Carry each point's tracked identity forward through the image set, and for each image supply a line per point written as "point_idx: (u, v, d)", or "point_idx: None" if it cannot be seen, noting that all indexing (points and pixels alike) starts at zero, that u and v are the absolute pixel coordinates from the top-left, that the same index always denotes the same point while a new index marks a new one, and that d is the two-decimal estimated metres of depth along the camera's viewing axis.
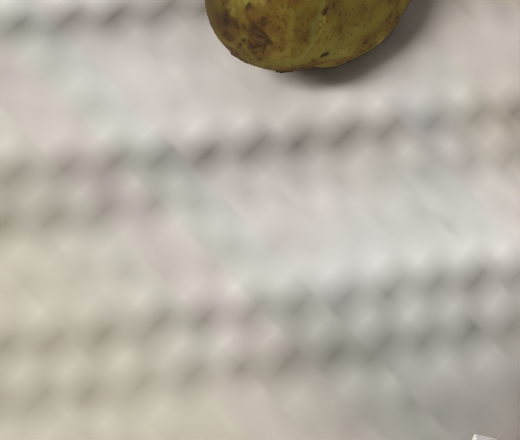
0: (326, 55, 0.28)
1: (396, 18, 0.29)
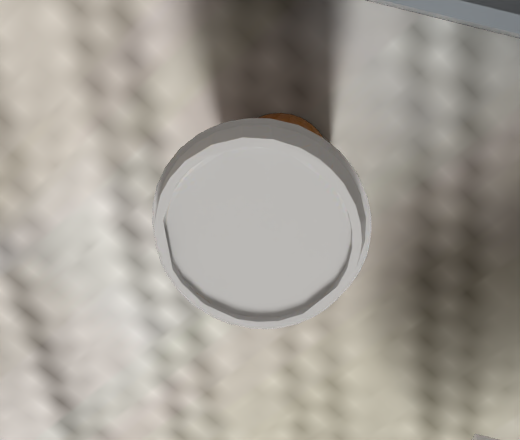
0: None
1: None
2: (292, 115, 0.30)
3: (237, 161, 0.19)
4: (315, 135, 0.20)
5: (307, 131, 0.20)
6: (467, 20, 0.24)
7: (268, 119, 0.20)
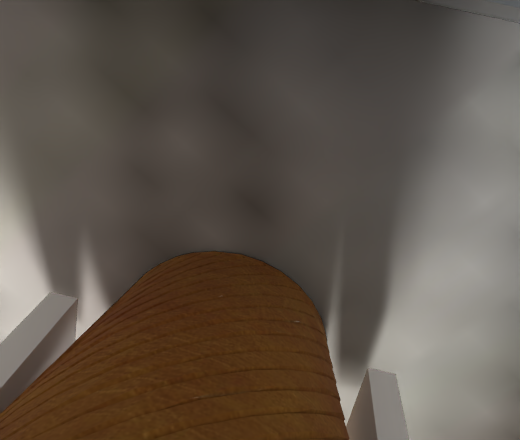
0: None
1: None
2: (240, 258, 0.13)
3: None
4: None
5: None
6: None
7: None
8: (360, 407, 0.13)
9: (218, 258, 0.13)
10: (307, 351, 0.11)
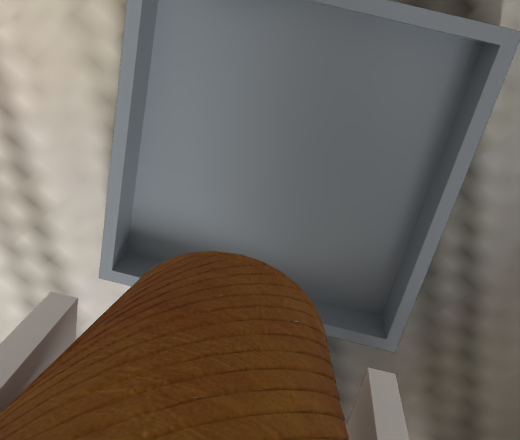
0: None
1: None
2: (240, 258, 0.13)
3: None
4: None
5: None
6: None
7: None
8: (360, 407, 0.13)
9: (218, 258, 0.13)
10: (307, 351, 0.11)
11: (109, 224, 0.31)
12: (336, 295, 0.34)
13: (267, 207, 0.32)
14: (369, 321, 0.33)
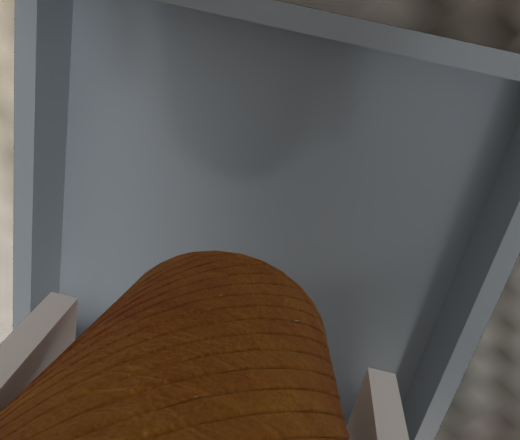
0: None
1: None
2: (240, 258, 0.13)
3: None
4: None
5: None
6: None
7: None
8: (360, 407, 0.13)
9: (218, 257, 0.13)
10: (307, 350, 0.11)
11: None
12: None
13: None
14: None
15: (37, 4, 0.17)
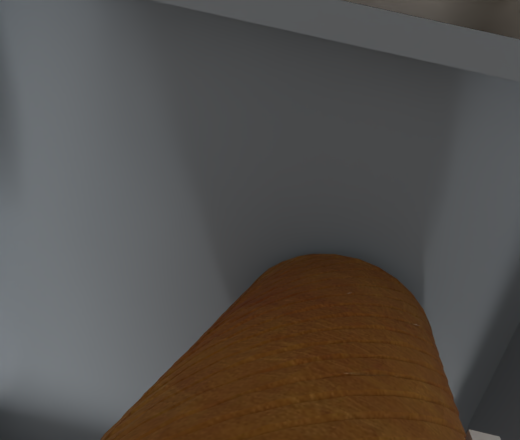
0: None
1: None
2: (359, 262, 0.14)
3: None
4: None
5: None
6: None
7: None
8: None
9: (339, 260, 0.14)
10: (428, 352, 0.12)
11: None
12: None
13: None
14: None
15: None
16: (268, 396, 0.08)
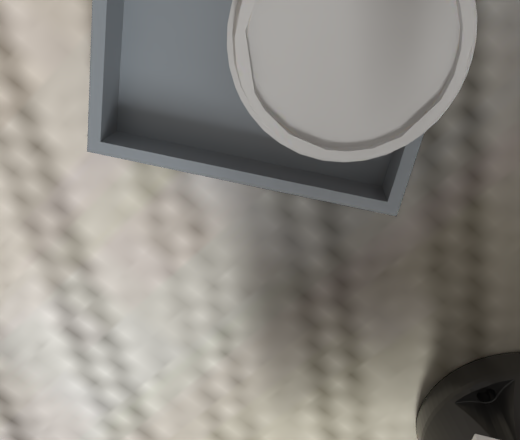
0: None
1: None
2: None
3: None
4: None
5: None
6: (307, 196, 0.31)
7: None
8: None
9: None
10: None
11: (94, 88, 0.29)
12: (334, 166, 0.32)
13: None
14: (369, 189, 0.32)
15: None
16: None
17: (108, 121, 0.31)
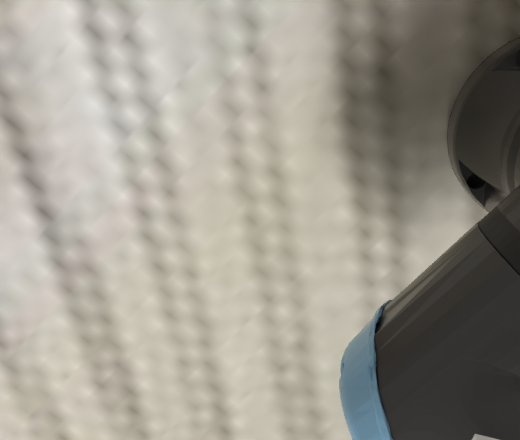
0: None
1: None
2: None
3: None
4: None
5: None
6: None
7: None
8: None
9: None
10: None
11: None
12: None
13: None
14: None
15: None
16: None
17: None
